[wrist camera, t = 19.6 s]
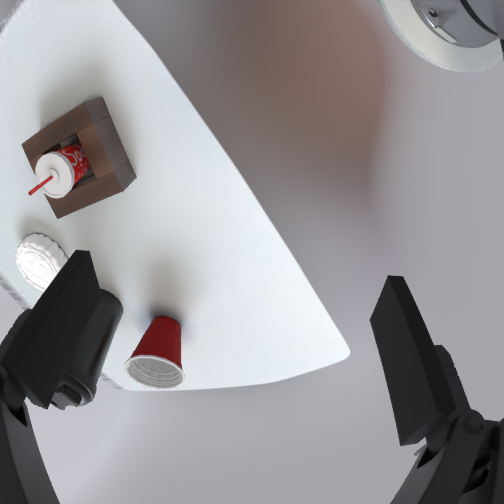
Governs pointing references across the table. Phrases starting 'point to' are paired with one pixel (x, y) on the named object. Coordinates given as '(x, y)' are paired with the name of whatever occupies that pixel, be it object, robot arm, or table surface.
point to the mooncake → (39, 260)
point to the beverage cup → (61, 170)
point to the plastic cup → (158, 356)
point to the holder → (97, 152)
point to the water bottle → (89, 355)
